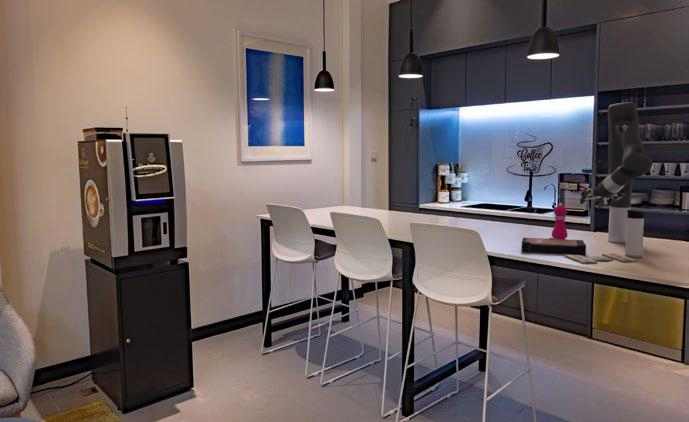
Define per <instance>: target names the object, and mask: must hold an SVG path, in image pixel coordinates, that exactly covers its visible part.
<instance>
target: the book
mask: <svg viewBox="0 0 689 422" xmlns="http://www.w3.org/2000/svg"><path fill="white" fill-rule="evenodd" d="M521 253H525V254H526V253H527V254H529V253H530V254H546V255H547V254H550V255H551V254H552V255H553V254H554V255H565V254H569V255H582V256H583V257H586V256H587V245H586V243H585V241H584V239H567V238H565V239H556V238H553V237H549V238H540V237H522V241H521Z"/></svg>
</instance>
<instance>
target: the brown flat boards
mask: <svg viewBox="0 0 689 422" xmlns="http://www.w3.org/2000/svg"><path fill="white" fill-rule="evenodd" d="M564 257H565V258H566V257H567V258H566V259H569V260H571V259H572V260H571V261H574V260H575V261H574V262H577V263H579V262H580V264H582V265H584V264H585V265H588V264H589V265H591V264H592V265H593V264H598V262H600V263H602V262H603V263H606V262H607V263H611V262H613V261H618V262H620V263H637V262H638V260H637V259H636V258H630V257H626V256H625V255H621V254H618V253H602V254H601V256H596V255H595V256H588V257H586V256H580V255H565V254H564Z"/></svg>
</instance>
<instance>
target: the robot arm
mask: <svg viewBox="0 0 689 422" xmlns="http://www.w3.org/2000/svg"><path fill="white" fill-rule="evenodd" d="M607 124H608V127H607V128H608V146H607V147H608V148H607V151H608V152H607V153H608V158H607V159H608V172H607V176H606V177H605V178H604V179H603V180H602V181H601V182H600V183H599V184H598V185H597V187H596V188H591V186H587V187H586V188H585V189H584V190H583V191H581V193H580V197H581V198H580V199H579V202H580V203H579V204H580V205H583V204H584V203H585V202H587V201H588V200H599V202H598V203H597V208H599V209H601V208H603V207H604V206H606V205H609V216H608V218H609V219H608V236H607V241H608V242H610V243H611V242H612V243H620V244H623V243H625V244H626V231H627V216H628V215H627V214H628V212H627V210H632V195H633V184H634V182H633V181H634V180H635V179H637V178H639V177H641V176H644V175H646V174H647V173H648V172H649V171H650V170H652V169H651V168H652V167H653V165H654V163H653V159H652V158H651V157H650V156H648V155H645V154H643V152H644V145H643V141H642V138H641V134H640V124H639V117H638V110H637V106H636V104H635V103H634V102H633V101H626V102H620V103H618V102H617V103H614V104H610V105H609V106H608V107H607ZM625 124H629V125H628V126H627V129H626V130H625V131H624V133H622V132H621V131H620V130H619V128H618V127H617V126H618V125H619V126H620V125H625ZM618 194H623V196H621V197H618Z"/></svg>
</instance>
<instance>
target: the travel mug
mask: <svg viewBox="0 0 689 422" xmlns="http://www.w3.org/2000/svg"><path fill="white" fill-rule="evenodd" d="M627 212H628V214H627V215H628V216H627V231H626V243H625V254H624V256H625V257H629V258H632V259H641V258H642V257H643V247H644V246H643V245H644V244H643V243H644V228H645V227H644V226H645V212H642V211H638V210H632V209H631V210H627Z"/></svg>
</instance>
